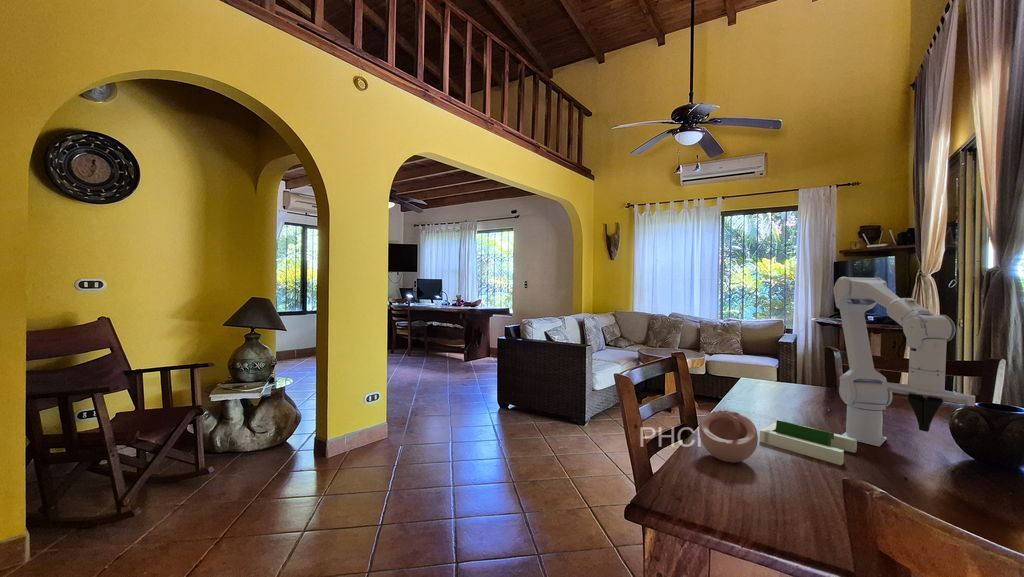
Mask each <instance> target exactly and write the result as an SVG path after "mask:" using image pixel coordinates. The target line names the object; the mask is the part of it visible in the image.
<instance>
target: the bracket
mask: <svg viewBox="0 0 1024 577" xmlns="http://www.w3.org/2000/svg"><path fill="white" fill-rule="evenodd" d="M779 421H782V420H781V419H779ZM783 421H784V422H786V421H785V420H783ZM776 422H777V421H776ZM776 422H773V423H772V424H769V425H767V426H766V427H764V428H761V429H760V430H759V443H763V444H767V445H769V446H773V447H777V448H779V449H783V450H786V451H790V452H792V453H793V452H794V453H797V454H801V455H805V456H808V457H811V458H815V459H818V460H821V461H825V462H828V463H832V464H835V465H838V466H842V465H843V464H844V458H845V451H846V452H849V453H855V454H856V452H857V450H858V449H857V448H858V441H857V439H855V438H851V437H847V436H843V435H842V434H838V433H834V439H831V445H830V446H826V445H822V444H818V443H815V442H811V441H807V440H803V439H800V438H796V437H792V436H788V435H785V434H781V433H777V432H775V431H776ZM796 424H797V423H796ZM797 425H800V426H804V425H801V424H797ZM804 427H807V426H804ZM808 427H809V426H808ZM809 428H811V427H809ZM812 428H813V427H812ZM813 429H815V428H813Z"/></svg>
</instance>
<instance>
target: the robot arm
mask: <svg viewBox="0 0 1024 577" xmlns="http://www.w3.org/2000/svg"><path fill="white" fill-rule="evenodd" d="M832 291H833V295H834V296H833V297H834V303H835V307H836V308H837V309H839V313H840V319H841V324H842V330H843V335H844V336H843V337H844V342H845V348H846V354H847V361H848V367H849V369H848V370H847V371H846V372H845V373H843V374H841V375H840V376H839V388H838V393H839V396H840V399H841V400H842V401H843V403H844V404H845V405H846V425H845V426H846V427H845V432H844V433H842V434H841V435H843V436H847V437H851V438H855V439H857V443H858V442H859V443H864V444H867V445H872V446H876V447H881V446H882V445H883V444H884V442H885V441H886V440H887V439H888V438H887V437H886V436H883V420H884V418H883V416H884V415H883V410H887V407H888V406H889V405H890V404H891V403H892V401H893V393H894V394H895V393H896V394H900V395H901V394H902V395H907V396H908V397H907V401H908V403H909V405H910V407H911V409H912V410H913V412H914V415H915V417H916V420H917V425H918V430H919V431H921V432H927V433H928V432H929V431H930V428H931V424H932V421H933V419H934V417H935V415H936V413H937V412H938V410H939V408H940V407H941V406H942V405H943V403H945V402H949V403H955V404H959V405H960V404H962V405H966V406H969V407H975V406H976V395H974V394H973V395H971V394H965V393H960V392H956V391H955V392H954V391H950V390H946V389H945V387H946V386H945V385H946V366H947V365H946V363H947V343H948V342H949V341H951V340H952V339H953V338H954V336H955V334H956V325H955V322H954V321H953V319H952V318H950V317H949V316H948V315H947V314H934V313H932V312H931V311H930V310H929V309H928V308H924V307H923V306H922V305H920V304H919V303H917V300H916V299H914V298H912V297H899V296H898V295H897V294H896V293H894V292H893V291H892V290H891V289H890V288H888V283H887V281H886V280H883V279H882V277H877V276H876V277H852V276H851V277H850V276H848V277H847V276H841V277H839V278H837V280H836V282H835V283H834V286H833V290H832ZM877 304H878V305H879V306H880V305H881V306H882V307H884V308H885V309H886V310H885V311H886V314H887V316H888V317H889V318H890V319H892V320H893V321H895V322H896V323H897V324H898V325H900V326H901V327H902V331H903V334H904V336H905V338H906V346H907V347H908V348H909V353H908V356H909V357H908V376H907V379H908V381H907V382H908V383H907V384H905V383H895V382H889V381H887V377H885V376H884V375H883V374H882V373H880V372H878V371H877V370H875V365H874V360H873V356H872V355H873V354H872V349H871V344H870V338H869V332H868V328H867V321H866V316H865V313H866V311H869V310H871V309H873V308H875V306H876V305H877Z"/></svg>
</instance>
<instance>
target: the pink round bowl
mask: <svg viewBox="0 0 1024 577" xmlns="http://www.w3.org/2000/svg"><path fill="white" fill-rule="evenodd" d="M699 422H700V423H699V426H698V427H699V428H698V431H699V432H698V435H699V438H700V441H701V444H702V445H703V447H704V448H705V449H706V451H707V452H708V453H709V454H710V455H711V456H712V457H714V458H716V459H718V460H719V461H723V462H727V463H739V462H742V461H745V460H748V459H749V458H750V457H751V456H752V455H753V454H754V453H755V451H756V449H757V448H758V447H757V446H758V441H759V438H758V436H759V435H758V431H757V428H756V425H755V423H754V422H753V421H752V420H751V419H750V418H748V417H747V416H745V415H743V414H740V413H739V412H737V411H729V410H726V409H724V410H722V409H721V410H720V409H719V410H714V411H712V412H709V413H707V414H706V415H704V416H703V418H702V419H701V420H700V421H699Z"/></svg>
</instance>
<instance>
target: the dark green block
mask: <svg viewBox="0 0 1024 577" xmlns="http://www.w3.org/2000/svg"><path fill="white" fill-rule="evenodd" d="M779 420H780V419H779ZM779 420H777V419H776V431H775V432H777V433H781V434H785V435H788V436H792V437H796V438H800V439H803V440H807V441H811V442H815V443H818V444H822V445H826V446H830V445H831V439H834V434H835V433H834V432H830V431H826V430H821V429H817V428H814V429H813V427H810V428H809V426H806V427H804V425H802V426H800V425H801V424H798V425H797V423H794V422H788V421H785V420H781V421H779ZM784 421H785V422H784ZM830 447H831V446H830Z"/></svg>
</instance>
